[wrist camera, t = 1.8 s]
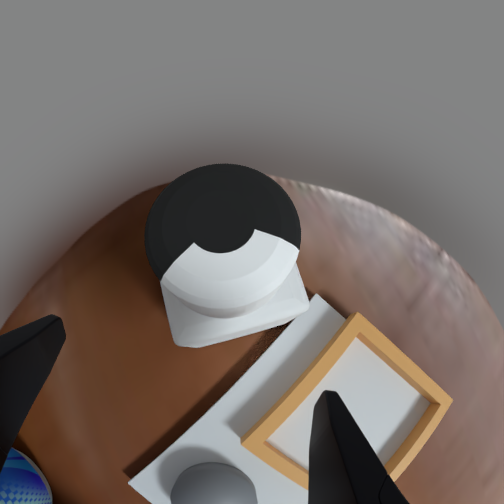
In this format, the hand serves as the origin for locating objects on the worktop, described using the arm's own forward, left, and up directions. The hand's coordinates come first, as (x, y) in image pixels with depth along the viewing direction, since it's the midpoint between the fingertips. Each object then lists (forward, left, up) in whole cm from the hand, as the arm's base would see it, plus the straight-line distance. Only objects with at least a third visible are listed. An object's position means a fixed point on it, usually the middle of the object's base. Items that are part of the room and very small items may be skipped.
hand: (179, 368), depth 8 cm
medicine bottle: (+5, +3, -12) cm, 14 cm away
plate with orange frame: (-2, -10, -12) cm, 16 cm away
